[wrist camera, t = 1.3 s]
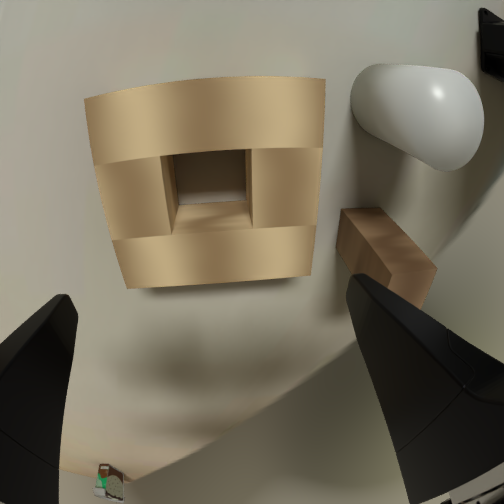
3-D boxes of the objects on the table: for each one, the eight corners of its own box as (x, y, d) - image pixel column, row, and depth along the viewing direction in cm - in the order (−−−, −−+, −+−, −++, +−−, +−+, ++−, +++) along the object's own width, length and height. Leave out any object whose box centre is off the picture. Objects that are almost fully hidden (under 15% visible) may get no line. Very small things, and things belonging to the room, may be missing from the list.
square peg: (380, 207, 21) (437, 268, 15) (372, 244, 23) (420, 310, 17) (341, 208, 21) (392, 274, 15) (335, 247, 23) (376, 319, 16)
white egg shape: (418, 72, 15) (488, 84, 10) (412, 141, 19) (475, 175, 13) (351, 57, 15) (414, 56, 9) (348, 135, 18) (404, 168, 12)
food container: (87, 459, 53) (83, 491, 44) (106, 462, 53) (103, 495, 45) (107, 471, 60) (105, 500, 51) (125, 474, 60) (124, 503, 52)
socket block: (303, 77, 16) (325, 79, 12) (296, 242, 22) (310, 275, 19) (109, 93, 15) (84, 98, 11) (138, 254, 21) (127, 288, 18)
